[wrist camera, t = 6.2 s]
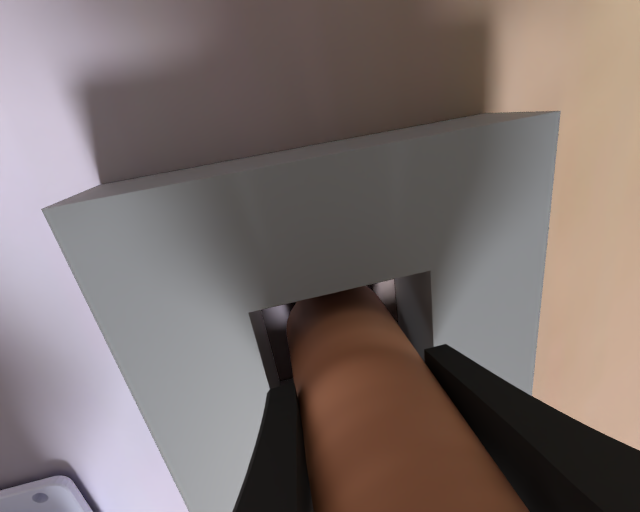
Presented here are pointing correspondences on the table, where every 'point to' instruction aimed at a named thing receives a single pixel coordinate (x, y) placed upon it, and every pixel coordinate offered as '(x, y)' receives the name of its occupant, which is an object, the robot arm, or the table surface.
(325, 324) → the peg
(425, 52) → the table surface
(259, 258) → the socket block
